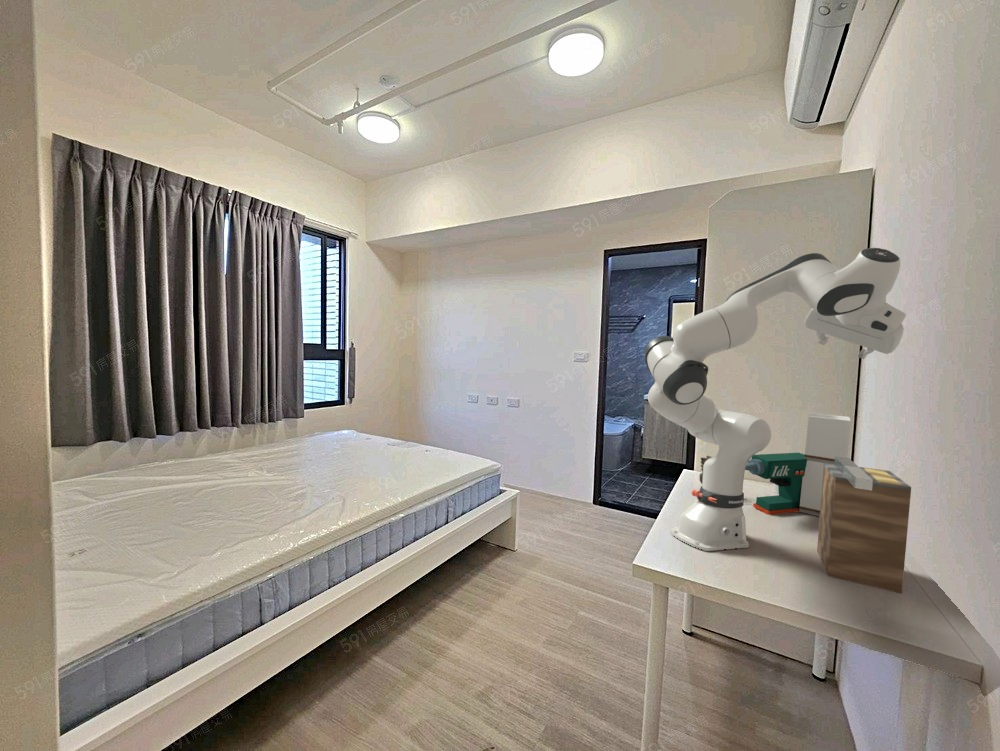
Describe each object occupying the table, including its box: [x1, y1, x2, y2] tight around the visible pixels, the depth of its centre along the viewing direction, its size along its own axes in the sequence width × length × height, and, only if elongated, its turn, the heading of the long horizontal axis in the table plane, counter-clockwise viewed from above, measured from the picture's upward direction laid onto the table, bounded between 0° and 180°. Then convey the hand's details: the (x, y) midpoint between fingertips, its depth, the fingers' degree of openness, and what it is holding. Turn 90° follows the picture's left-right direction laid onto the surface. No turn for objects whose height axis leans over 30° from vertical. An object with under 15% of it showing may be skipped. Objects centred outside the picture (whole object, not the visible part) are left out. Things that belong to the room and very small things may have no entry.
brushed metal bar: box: [834, 456, 873, 490], centre depth 104 cm, size 23×3×2 cm, turn 150°
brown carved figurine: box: [699, 455, 713, 485], centre depth 167 cm, size 6×6×15 cm
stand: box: [816, 463, 912, 594], centre depth 108 cm, size 16×14×26 cm
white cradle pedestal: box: [798, 412, 852, 517], centre depth 147 cm, size 11×11×35 cm
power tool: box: [745, 452, 807, 516], centre depth 147 cm, size 32×7×20 cm, turn 105°
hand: (841, 349), depth 112 cm, fingers open, 8 cm apart
